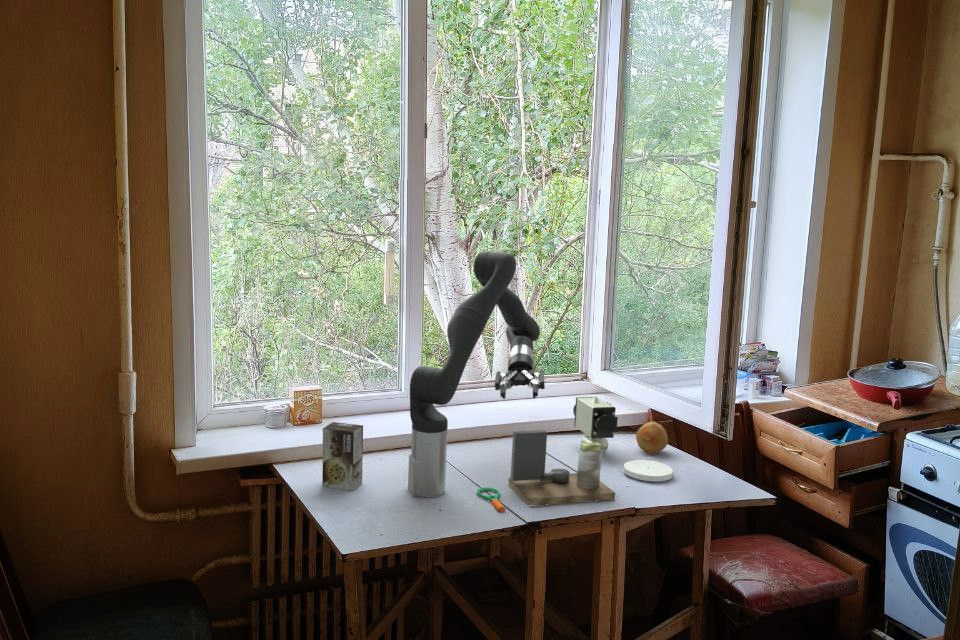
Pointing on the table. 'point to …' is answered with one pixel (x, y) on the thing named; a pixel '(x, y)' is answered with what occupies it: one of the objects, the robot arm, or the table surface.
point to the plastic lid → (648, 470)
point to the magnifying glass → (492, 498)
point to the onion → (652, 438)
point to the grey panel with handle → (533, 458)
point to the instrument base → (569, 483)
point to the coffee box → (342, 456)
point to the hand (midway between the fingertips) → (518, 396)
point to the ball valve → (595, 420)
